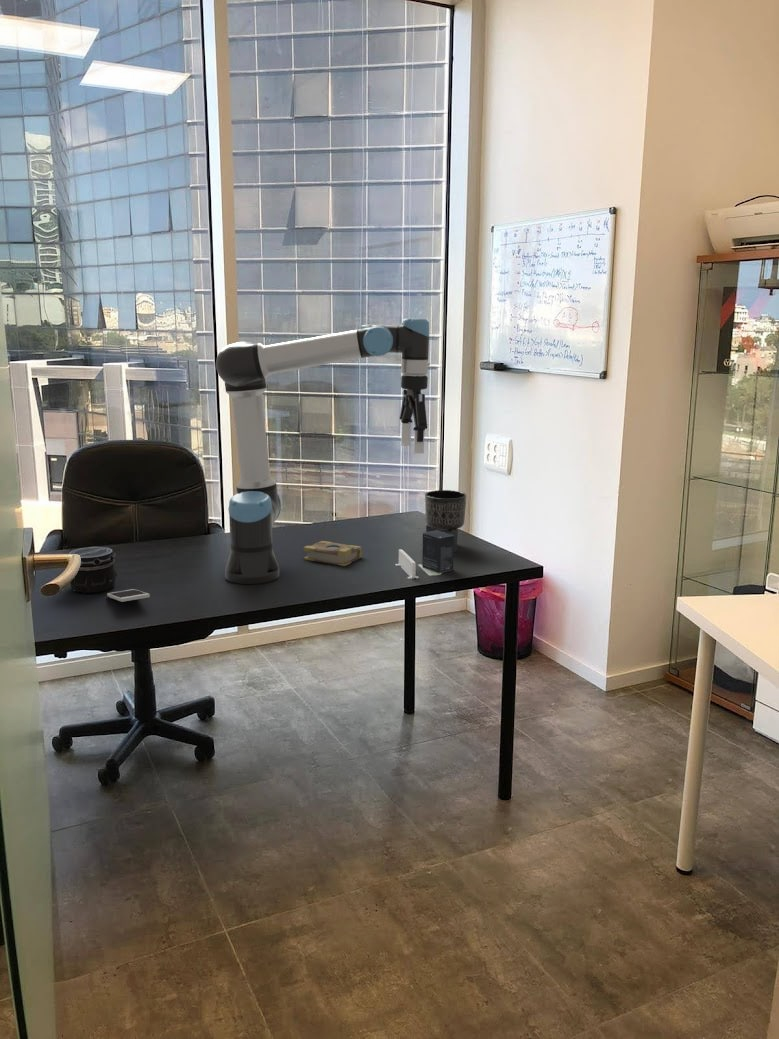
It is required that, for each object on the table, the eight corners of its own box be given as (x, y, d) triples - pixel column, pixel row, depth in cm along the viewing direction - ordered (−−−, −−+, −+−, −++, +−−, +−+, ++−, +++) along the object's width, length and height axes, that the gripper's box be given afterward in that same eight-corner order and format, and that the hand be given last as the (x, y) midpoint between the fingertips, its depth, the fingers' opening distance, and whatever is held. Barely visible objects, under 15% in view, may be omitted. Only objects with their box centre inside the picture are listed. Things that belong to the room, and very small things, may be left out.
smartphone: (121, 602, 214) (121, 598, 214) (106, 596, 227) (106, 593, 227) (150, 597, 217) (149, 593, 217) (134, 592, 231) (133, 588, 231)
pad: (429, 576, 245) (429, 575, 245) (417, 565, 255) (417, 564, 255) (459, 574, 247) (459, 573, 247) (446, 563, 258) (446, 562, 258)
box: (453, 570, 250) (454, 534, 248) (438, 573, 247) (439, 537, 244) (436, 563, 256) (436, 529, 254) (421, 567, 253) (422, 532, 250)
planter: (425, 554, 267) (426, 498, 263) (422, 543, 279) (423, 490, 275) (467, 554, 267) (468, 498, 263) (462, 543, 280) (463, 490, 276)
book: (303, 560, 261) (303, 545, 260) (323, 552, 270) (322, 536, 269) (344, 567, 254) (344, 551, 253) (363, 558, 264) (363, 542, 263)
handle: (408, 580, 242) (408, 563, 241) (395, 565, 255) (395, 549, 254) (418, 579, 243) (419, 562, 242) (405, 565, 256) (405, 549, 255)
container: (83, 578, 242) (80, 544, 239) (126, 581, 240) (123, 546, 237) (58, 592, 230) (55, 557, 227) (103, 595, 228) (101, 559, 225)
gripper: (440, 378, 233) (437, 456, 238) (415, 371, 256) (412, 442, 261) (413, 378, 231) (411, 456, 236) (390, 371, 254) (388, 442, 259)
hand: (412, 449), depth 248 cm, fingers open, 13 cm apart
